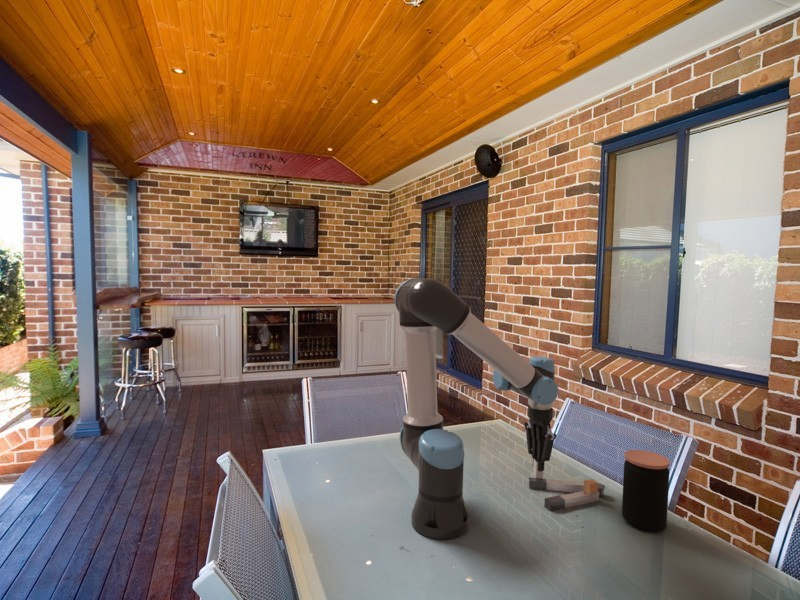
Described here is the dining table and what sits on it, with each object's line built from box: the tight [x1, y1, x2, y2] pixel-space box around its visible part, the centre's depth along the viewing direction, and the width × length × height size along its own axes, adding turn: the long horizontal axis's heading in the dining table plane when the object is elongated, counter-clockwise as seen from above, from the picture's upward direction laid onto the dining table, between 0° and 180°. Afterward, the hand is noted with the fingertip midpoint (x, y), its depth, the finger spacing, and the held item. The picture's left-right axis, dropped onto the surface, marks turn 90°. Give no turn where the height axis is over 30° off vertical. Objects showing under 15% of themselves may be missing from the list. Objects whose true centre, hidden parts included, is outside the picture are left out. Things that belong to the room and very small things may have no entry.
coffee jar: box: [621, 449, 671, 534], centre depth 121 cm, size 11×11×18 cm
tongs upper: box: [528, 477, 584, 493], centre depth 139 cm, size 18×2×2 cm, turn 81°
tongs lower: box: [543, 482, 606, 512], centre depth 133 cm, size 22×5×3 cm, turn 111°
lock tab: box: [583, 478, 599, 494], centre depth 133 cm, size 3×2×3 cm
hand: (537, 479), depth 143 cm, fingers closed
